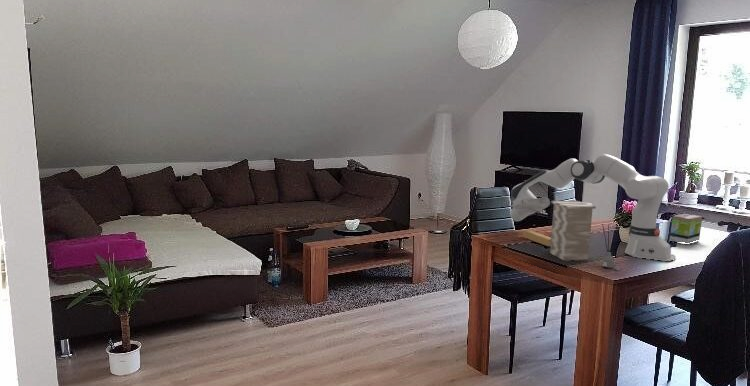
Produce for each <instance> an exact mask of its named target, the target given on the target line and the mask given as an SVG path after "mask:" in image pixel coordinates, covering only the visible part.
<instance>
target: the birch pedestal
mask: <svg viewBox="0 0 750 386" xmlns="http://www.w3.org/2000/svg"><path fill="white" fill-rule="evenodd" d="M586 203H587V202H584V203H583V201H580V200H551V201H550V204H553V208H552V209H553V212H552V223H551V225H552V226H551V246H550V250H549V251H550V252H549V253H550V254H551V255H553V256H554V257H556V258H559V259H561V260H562V261H564V260H565V262H568V261H569V262H571V261H570V260H575V261H589V253H590V243H591V242H590V240H591V230H592V219H593V209H594V210H595V209H597V207H596V206H595V205H593V204H592V205H590V204H586Z"/></svg>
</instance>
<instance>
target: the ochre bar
mask: <svg viewBox="0 0 750 386" xmlns="http://www.w3.org/2000/svg"><path fill="white" fill-rule="evenodd" d="M521 234H522V235H521V237H522V238H524V237H525V239H527V238H528V239H527V240H530V241H532V240H533V241H532V242H536V243H538V244H540V245H544V246H546V247H551V237H550V236H547V235H544V234H543V233H542V234H541V233H538V232H536V231H532V230H530V229H523V230H522V233H521Z"/></svg>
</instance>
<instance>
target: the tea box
mask: <svg viewBox="0 0 750 386" xmlns="http://www.w3.org/2000/svg"><path fill="white" fill-rule="evenodd" d="M702 221H703V216H702V215H695V214H689V213H682V214H676V215H672V219H671V228H670V236H669V242H670V241H676V242H685V243H690V242H693V241H696V240H699V241H700V237H701V229H702Z"/></svg>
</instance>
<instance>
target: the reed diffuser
mask: <svg viewBox="0 0 750 386" xmlns="http://www.w3.org/2000/svg"><path fill="white" fill-rule="evenodd" d="M601 226H602V229H603V230H602V231H603V236H604V241H605V245H606V247H605V248H606V255H603V257H602V261H601V262H602V263H601V265H602V267H605V268H610V269H611V268H615V269H616V270H615V269H614V270H615V271H617V270H618V271H620V270H621V267H620V266H619V265H615V264H614V263H615V259H614V257H613V256H612V249H613V246H614V244H615V241H616V239H617V237H618V233H619V231H620V229H621V226H620V227H619V228H618V227H617V226H618V225H617V226H615V231H614V235H613V238H612V241H611V243H610V223H608V226H607V227H608V228H607V229H608V232H607V233H608V238H607V239H606V233H605V228H604V224H603V223H602V224H601ZM617 229H618V230H617ZM607 240H608V241H607ZM609 243H610V244H609ZM609 246H610V249H609ZM614 265H615V266H614Z"/></svg>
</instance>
